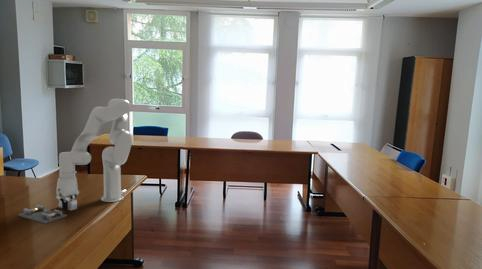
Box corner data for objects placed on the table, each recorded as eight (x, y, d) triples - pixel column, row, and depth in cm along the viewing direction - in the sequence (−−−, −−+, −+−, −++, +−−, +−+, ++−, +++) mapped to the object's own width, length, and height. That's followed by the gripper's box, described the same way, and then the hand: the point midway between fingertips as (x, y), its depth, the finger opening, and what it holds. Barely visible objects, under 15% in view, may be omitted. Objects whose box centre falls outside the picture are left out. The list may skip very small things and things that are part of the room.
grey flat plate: (40, 209, 184) (40, 207, 184) (67, 216, 175) (67, 215, 175) (18, 215, 174) (18, 214, 174) (45, 223, 165) (45, 222, 164)
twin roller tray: (37, 209, 182) (37, 204, 181) (62, 216, 173) (62, 211, 173) (23, 213, 175) (23, 208, 175) (48, 220, 167) (48, 215, 167)
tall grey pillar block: (64, 205, 191) (64, 196, 191) (77, 208, 187) (77, 200, 186) (58, 207, 188) (58, 198, 187) (71, 210, 184) (71, 201, 183)
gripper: (75, 171, 194) (76, 202, 196) (48, 176, 180) (49, 210, 182) (85, 172, 191) (85, 204, 193) (58, 178, 176) (59, 213, 178)
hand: (68, 207), depth 187 cm, fingers closed on tall grey pillar block, 3 cm apart
